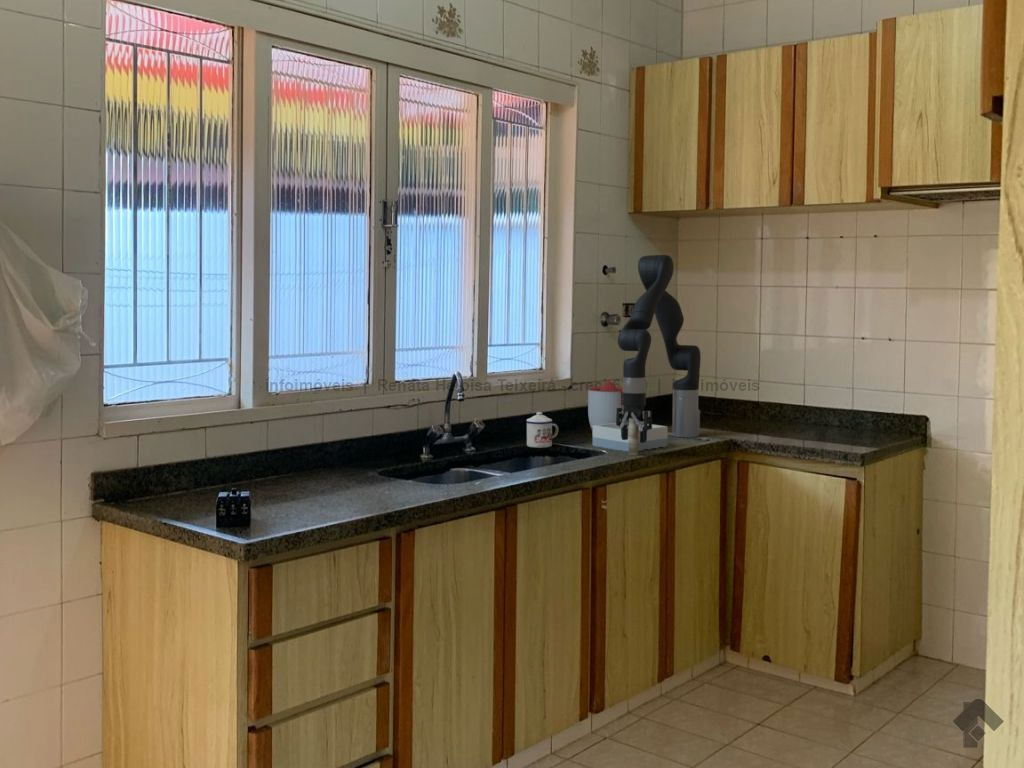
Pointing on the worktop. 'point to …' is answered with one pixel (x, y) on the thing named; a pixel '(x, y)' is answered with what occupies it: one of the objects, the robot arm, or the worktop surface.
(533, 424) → the teacup with lid
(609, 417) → the citrus juicer
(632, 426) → the peg
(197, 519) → the worktop surface
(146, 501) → the worktop surface
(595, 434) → the box
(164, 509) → the worktop surface
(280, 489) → the worktop surface
